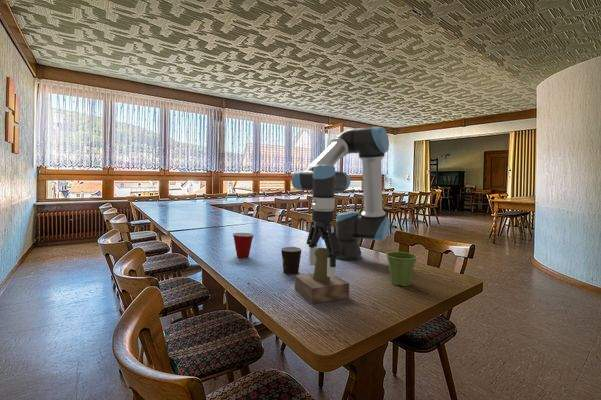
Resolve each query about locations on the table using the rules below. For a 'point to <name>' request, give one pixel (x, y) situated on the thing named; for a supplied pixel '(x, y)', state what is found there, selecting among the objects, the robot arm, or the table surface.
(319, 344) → the table surface
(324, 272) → the pepper mill
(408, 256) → the plant pot
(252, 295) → the table surface
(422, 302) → the table surface
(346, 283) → the walnut pedestal
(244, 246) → the plastic cup
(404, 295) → the table surface
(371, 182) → the robot arm
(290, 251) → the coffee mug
